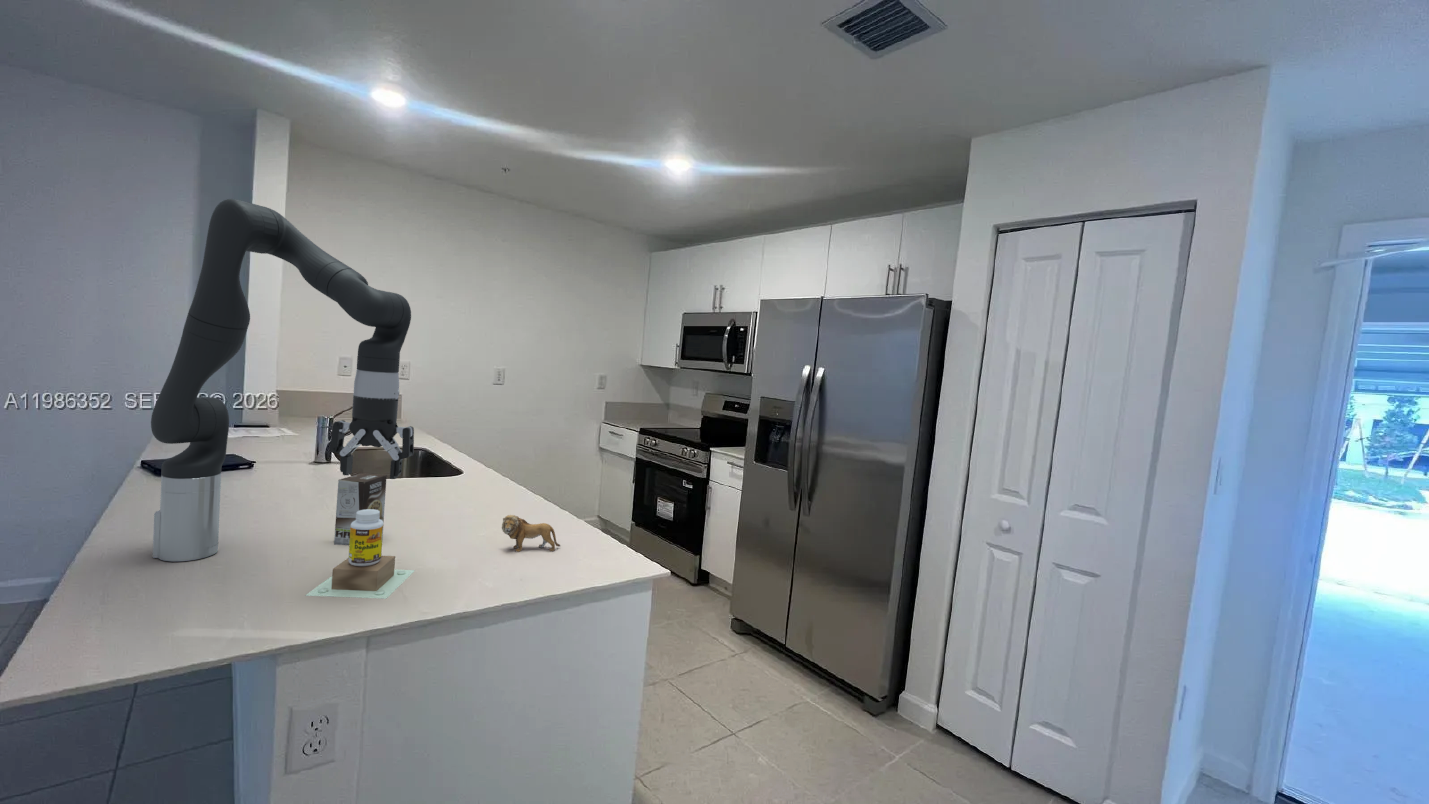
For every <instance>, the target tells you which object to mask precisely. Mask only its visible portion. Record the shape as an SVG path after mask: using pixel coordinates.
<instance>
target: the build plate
mask: <svg viewBox="0 0 1429 804" xmlns="http://www.w3.org/2000/svg"><path fill="white" fill-rule="evenodd" d="M415 571H416V569H415V570H414V569H395V568H394V576H393V577H391V578H390V579H389V580H388V581H387V582H386V583H385V584H384V585H383V586H382V587H381V588H379V589H378V590H377V591H360V590H335V589H331V588H332V575H331V576H330V577H328V578H327V579H326V580H324V581H323V582H322V583H320V584H319V585H317V586H316V587H314V588H313V589H312V590H310V591H309V592H308V593H306V594H305V595H304V596H307V597H308V596H309V597H332V598H334V597H335V598H358V599H362V598H363V599H382V600H383V599H385V600H386V599H388V598H389V597H390V596H391V595H392V594H393V593H394V592H395V591H396V590H397V589H398V588H399V587H400V586H401V585H402V584H403V583H404V582H405V581H406V580H407V579H408V578H409V577H410V576H411V575H413V574H414V572H415Z"/></svg>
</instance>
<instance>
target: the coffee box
mask: <svg viewBox="0 0 1429 804" xmlns="http://www.w3.org/2000/svg"><path fill="white" fill-rule="evenodd" d="M387 475H388V474H378V473H365V472H361V473H357V474H353V475H351V476H346V477H344V478H341V479H338V481H337V482H338V483H337V495H336V508H335V510H336V511H335V525H334V526H335V527H334V537H333V538H334V539H333V545H339V546H349V543H350V527H351V523H352V522H353V521H355V520H356V512H357V511H360V510H365V509H375V510H379V511H380V517H379V519H380V520H382V521H383V523H385V522H384V519H385V507H386V506H385V504H386V491H387V477H388V476H387Z"/></svg>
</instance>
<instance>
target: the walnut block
mask: <svg viewBox="0 0 1429 804" xmlns="http://www.w3.org/2000/svg"><path fill="white" fill-rule="evenodd" d="M395 564H396V556H395V555H381V560H380V561H379V562H378V563H376V564H373V565H370V566H354V565H351V564H350V563H349V561H348V557H347V558H346V559H344V560H343V561H342V562H340V563H339V564H337V565H336V566H334V567H333V568H332V572H331V573H332V575H331V576H332V588H331V589H335V590H360V591H377V590H378V589H379V588H381V587H382V586H383V585H384V584H385V583H386V582H387V581H388V580H389V579H390V578H391V577H393V576H394V569H395Z"/></svg>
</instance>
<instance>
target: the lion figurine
mask: <svg viewBox="0 0 1429 804" xmlns="http://www.w3.org/2000/svg"><path fill="white" fill-rule="evenodd" d="M501 531H502V532H503V534H505V535H506V536H508V537H509V538H510V539H512V540H515V545H513V549H515V552H516V553H519V552H521V551H522V549H523V542H524V540H525V539H530V540H531V539H536V538H538V537H542V543H541V544H538V548H544V547H545V546H546V544H549V545H550V546H551V547H550V548H549V549H548V550H549V552H554V551H555V548H556V547H558V548H559V547H561V544H559V543H558V542H557V537H556V533H555V530H554V527H552V525H550V524H549V523H545V522H542V523H535V524H533V523H529V522H528V521H526V520H525V519H524V518H521V517H519V516H517V515H514V514H508V515H506V516H505V517H503V518H502V524H501ZM551 536H552V537H551ZM552 538H553V539H552Z"/></svg>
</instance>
